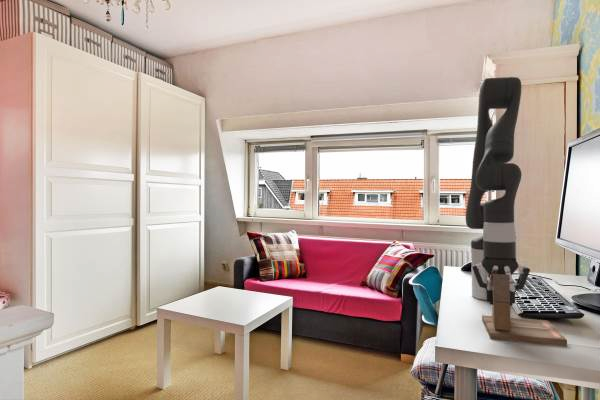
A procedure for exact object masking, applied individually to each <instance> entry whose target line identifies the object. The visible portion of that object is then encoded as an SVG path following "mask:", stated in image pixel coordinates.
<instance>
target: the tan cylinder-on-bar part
mask: <svg viewBox="0 0 600 400" xmlns="http://www.w3.org/2000/svg"><path fill="white" fill-rule="evenodd" d="M492 290H493V305H492V304H491V306H492V307H491V309H492V315H491V316H493V323H494V329H496V330H503V331H510V330H511V324H510V318H511V306H510V278H509V275H505V274H493V287H492Z"/></svg>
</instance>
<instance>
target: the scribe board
mask: <svg viewBox="0 0 600 400" xmlns="http://www.w3.org/2000/svg"><path fill="white" fill-rule="evenodd" d="M481 321H482V323H483V325H484V327H485V330H486V332H487V334H488V337H489V339H490V340H491V339H492V340H502V341H509V342H510V341H511V342H522V343H532V344H541V345H542V344H543V345H550V346H551V345H552V346H562V347H563V346H564V347H567V346H568V340H567V338H566V337H565V336H564V335H563V334H562V333H561V332H560V331H559V330H558V329H557V328H556V327H555V326H554V325H553V324H552V323H551V322H550V321H549V320H545V319H533V318H521V317H520V318H519V317H510V324H511V330H510V331H503V330H496V329H494V323H493V316H492V315H484V314H482V315H481Z"/></svg>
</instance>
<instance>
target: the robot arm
mask: <svg viewBox="0 0 600 400" xmlns="http://www.w3.org/2000/svg"><path fill="white" fill-rule="evenodd" d="M521 99H522V82H521V79H520V78H519V77H516V76H508V77H506V76H505V77H504V76H503V77H502V76H501V77H486V78H484V79H483V80H482V81H481V84H480V87H479V93H478V107H477V108H478V110H477V129H476V137H475V143H474V149H473V157H472V158H473V159H472V169H471V179H470V180H471V182H470V186H469V187H470V189H469V194H468V197H467V198H468V199H467V205H466V209H465V224H466V226H467V228H469V229H471V230H482V235H481V236H479V237H476V238H474V239H473V238H472V240H471V242H470V251H471V252H470V253H471V255H470V256H471V258H470V259H471V262H470V263H471V297H473V298H475V299H477V300H483V301H486V302H487V303H489V305H491V306H492V305H493V290H492V287H493V274H505V275H509V278H510V307H513V305H515V303H516V292H517V291H522V290H523V289H524V287H525V286H526V285H525V284H526V282H527V280H528V277H529V274H530V272H531V269H530V268H528V266H523V265H521V264H519V263H518V261H517V248H516V247H517V245H516V244H517V243H516V241H517V235H516V234H517V233H516V226H515V201H516V197H517V192H518V189H519V187H520V183H521V182H522V181H521V180H522V169H521V168H520V166H519V165H517V164H516V163H513V162H511V161H512V159H513V157H514V152H515V131H516V125H517V120H518V116H519V109H520V104H521ZM500 109H503V110H505V109H506V110H505V112H504V113H503V114H502V116H500V117H499V119H497V120H496V122H494V123H493V122H492V120H491V117H490V110H500ZM509 162H510V163H509ZM490 191H491V192H492V191H494V192H495V191H505V192H504V194H503V195H502V196H501V197H499V198H495V199H489V200H487V201H485V202H482V199H483V196H484V195H485V194H486V192H490ZM516 270H517V271H518V274H519V275H518V278H517V281H516V282H515V284H514V279H513V277H512V275H513V274H515V272H516Z"/></svg>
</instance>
